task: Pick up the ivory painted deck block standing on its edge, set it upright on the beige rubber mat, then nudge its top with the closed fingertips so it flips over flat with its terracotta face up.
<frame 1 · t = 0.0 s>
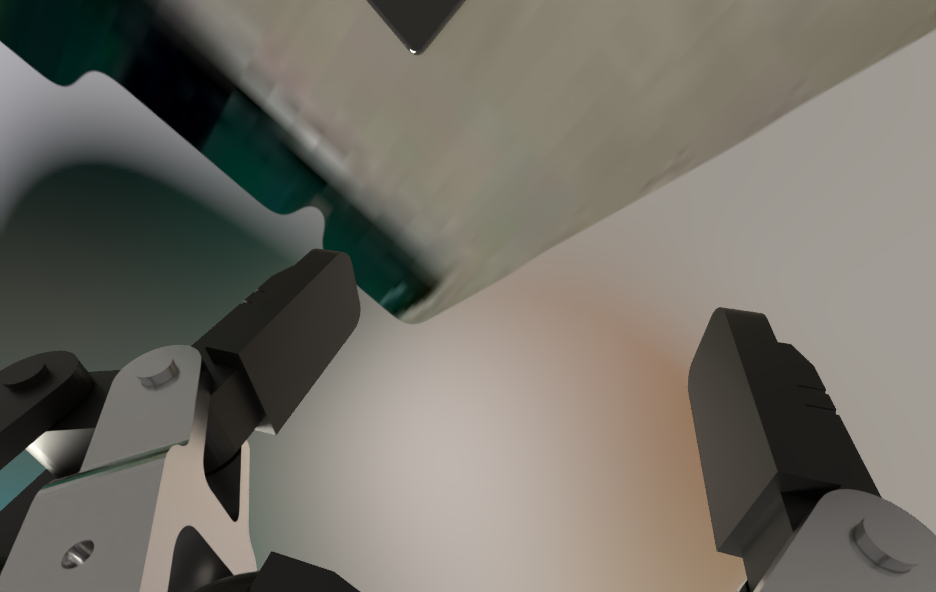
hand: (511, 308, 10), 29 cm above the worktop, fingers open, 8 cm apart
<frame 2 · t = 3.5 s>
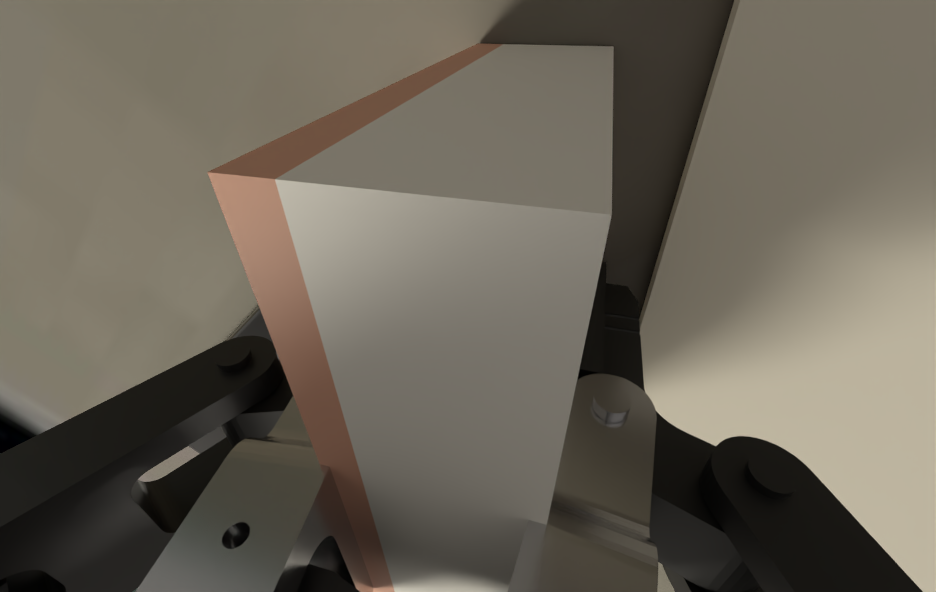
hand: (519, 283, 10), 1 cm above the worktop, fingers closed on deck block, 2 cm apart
smartphone: (289, 402, 19), on the worktop
deck block: (524, 271, 11), on the worktop, touching gripper
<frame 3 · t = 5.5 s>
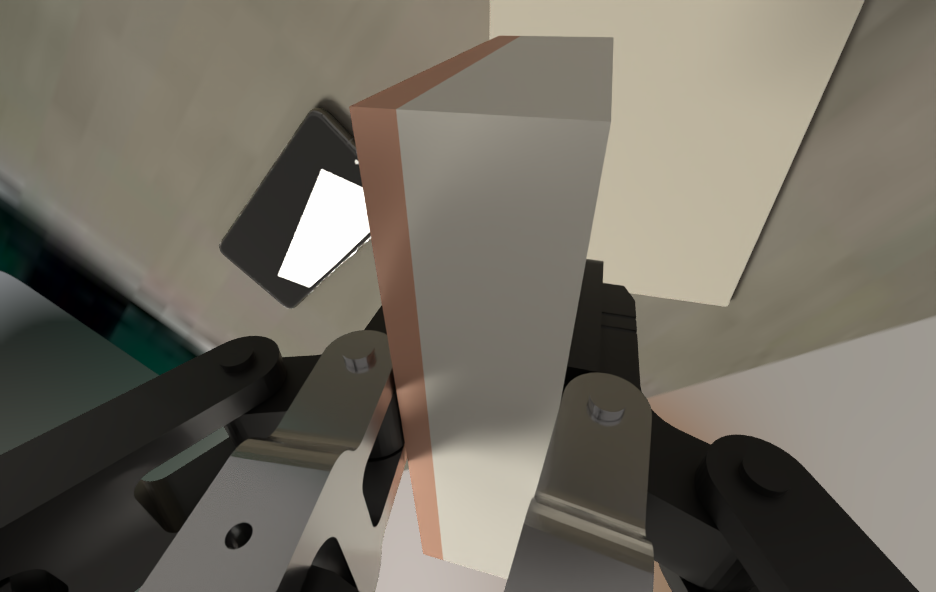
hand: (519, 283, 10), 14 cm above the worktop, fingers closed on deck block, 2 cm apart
smartphone: (309, 221, 30), on the worktop
deck block: (535, 237, 12), point 11 cm above the worktop, touching gripper
mat: (629, 142, 21), on the worktop
when the fingers open (2 cm above the worktop, at t = 7.8 s): deck block stays where it is, resting on mat.
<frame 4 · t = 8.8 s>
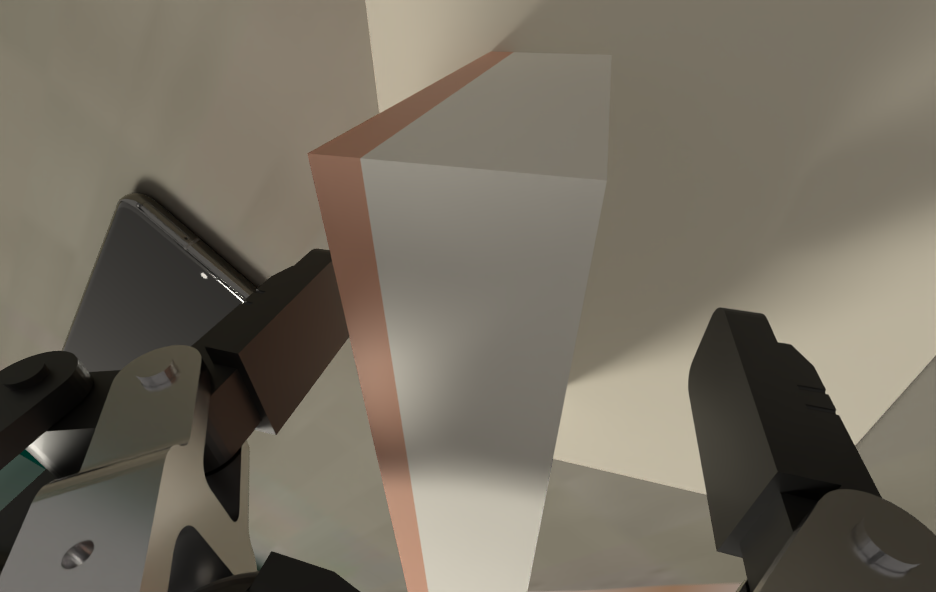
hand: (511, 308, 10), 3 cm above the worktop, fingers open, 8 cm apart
smartphone: (172, 331, 21), on the worktop
deck block: (529, 259, 12), resting on mat
mat: (638, 278, 12), on the worktop
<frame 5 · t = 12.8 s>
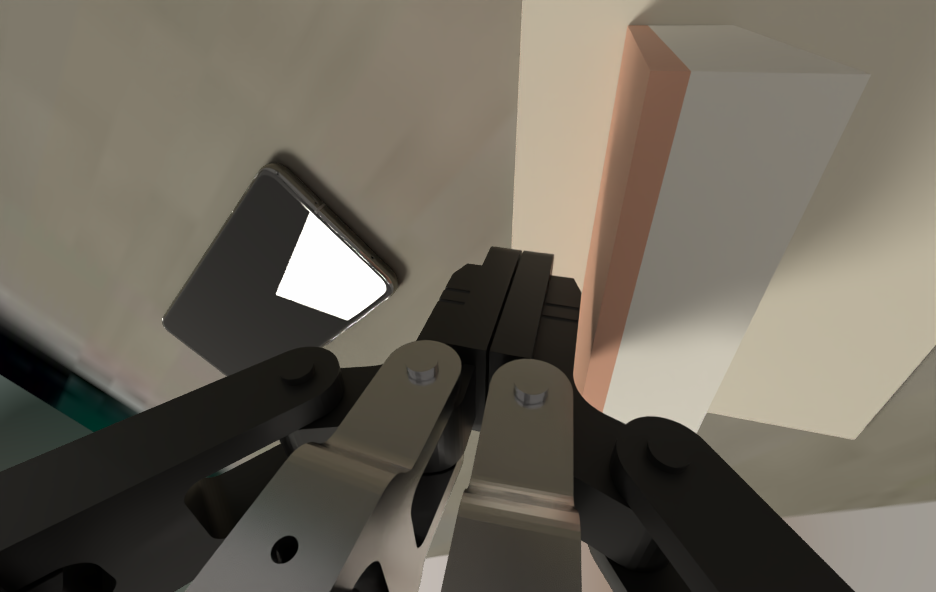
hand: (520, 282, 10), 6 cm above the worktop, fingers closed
smartphone: (272, 297, 23), on the worktop
deck block: (636, 207, 14), resting on mat, touching gripper
mat: (730, 222, 14), on the worktop
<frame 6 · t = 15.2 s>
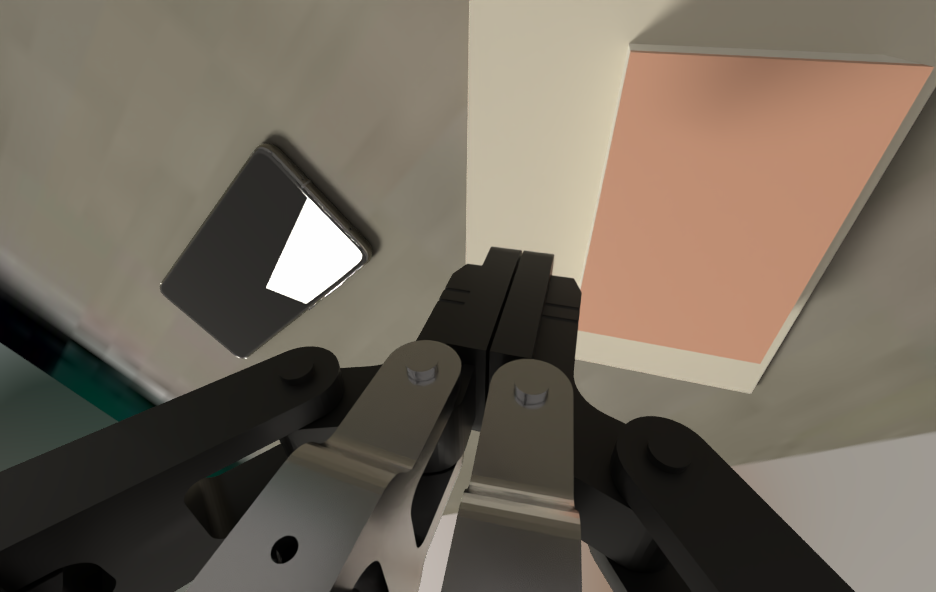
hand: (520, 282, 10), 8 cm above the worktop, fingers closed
smartphone: (262, 266, 26), on the worktop
deck block: (597, 204, 16), point 2 cm above the worktop, tilted 90°, touching mat
mat: (640, 202, 17), on the worktop
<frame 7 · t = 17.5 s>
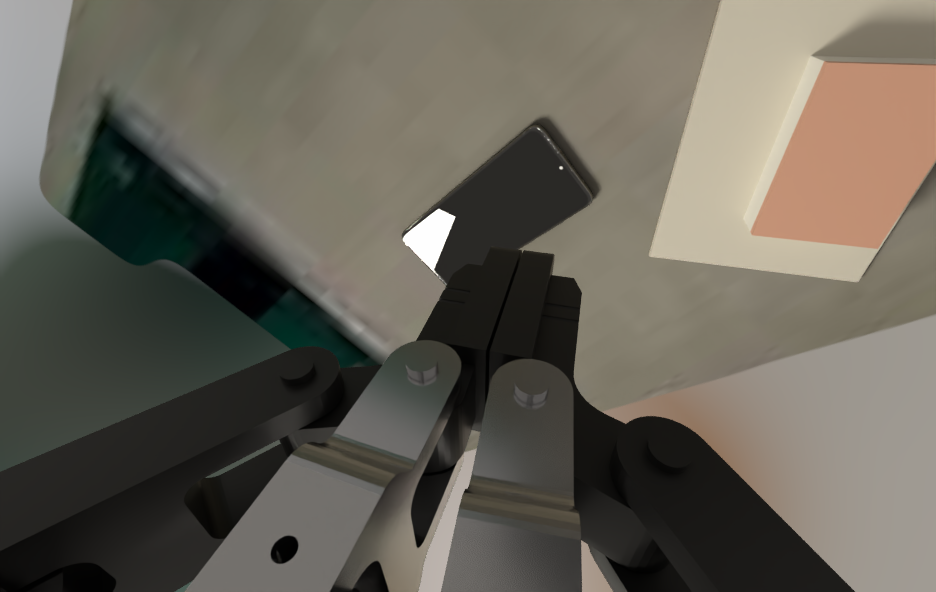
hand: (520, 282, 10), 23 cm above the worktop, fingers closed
smartphone: (490, 214, 36), on the worktop
deck block: (779, 152, 26), point 2 cm above the worktop, tilted 90°, touching mat
mat: (798, 152, 27), on the worktop
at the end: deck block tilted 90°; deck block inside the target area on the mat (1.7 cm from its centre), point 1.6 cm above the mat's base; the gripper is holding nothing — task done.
